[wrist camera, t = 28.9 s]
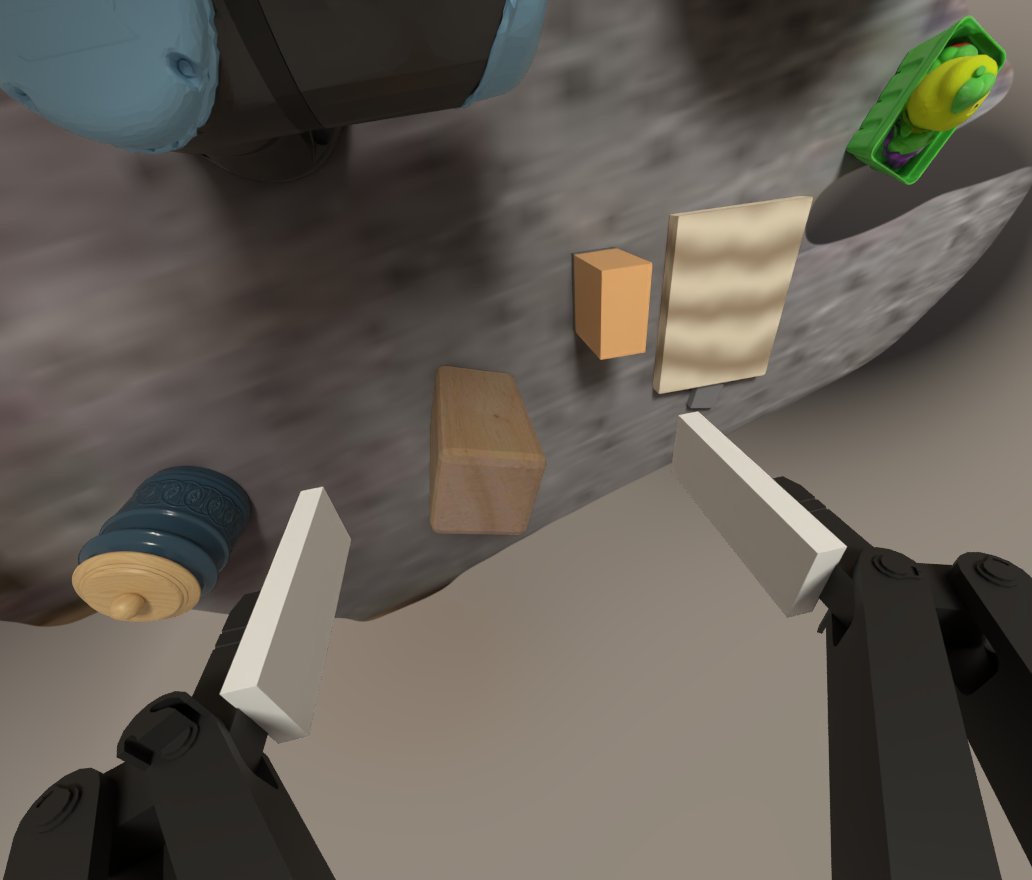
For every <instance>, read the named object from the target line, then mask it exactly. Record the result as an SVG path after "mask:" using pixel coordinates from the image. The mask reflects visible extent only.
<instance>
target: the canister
mask: <svg viewBox="0 0 1032 880" xmlns="http://www.w3.org/2000/svg"><path fill="white" fill-rule="evenodd" d="M250 512H251V504H250V500H249V498H248V496H247V494H246V493H245V491H244V490H243V489H242V488H241V487H240V486H239V485H238V484H237V483H235V482H234V481H233V480H231V479H230V478H228V477H226V476H224V475H222V474H220V473H218V472H215V471H212V470H208V469H205V468H199V467H191V466H181V467H172V468H168V469H165V470H162V471H160V472H158V473H156V474H154V475H153V476H151V477H150V478H148V479H146V480H145V481H144V482H143V483H142V484H141V485H140V486H139V487H138V488H137V489H136V490H135V492H134V493H133V496H132V497H131V498H130V499H129V500H128V501H127V502H126V504H125V505H124V506H123V507H122V508H121V509H120V510H119V511H118V512H117V513H116V514H115V515H114V516H113V517H111V518H110V519H108V520H107V521H106V522H105V523H104V525H103V526H102V528H101V530H100V533H99V535H98V536H96V537H94V538H93V539H91V540H90V541H88V542H87V543H86V544H85V545H84V546H83V548H82V549H81V551H80V553H79V556H78V565H79V566H78V567H77V568H76V570H75V571H74V573H73V576H72V584H73V587H74V589H75V591H76V592H77V594H78V595H79V596H80V597H81V598H82V599H83V600H84V601H85V602H87V604H88V605H90V606H91V607H92V608H93V609H95V610H96V611H98V612H100V613H102V614H104V615H107V616H109V617H112V618H113V619H115V620H119V621H124V620H126V621H135V622H146V621H155V620H161V619H167V618H172V617H176V616H179V615H181V614H183V613H186V612H188V611H189V610H191V609H192V608H193V607H194V606H195V605H196V604H197V603H198V601H199V599H201V598H203V597H205V596H206V595H208V594H209V593H210V592H211V591H212V590H213V589H214V588H215V586H216V584H217V582H218V577H219V572H220V571H222V570H223V569H224V568H225V566H226V565H227V563H228V561H229V558H230V554H231V552H232V550H233V548H234V546H235V544H236V542H237V540H238V538H239V537H240V535H241V534H242V533H243V532H244V530H245V528H246V526H247V524H248V522H249V518H250Z"/></svg>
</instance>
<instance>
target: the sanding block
mask: <svg viewBox="0 0 1032 880" xmlns="http://www.w3.org/2000/svg"><path fill="white" fill-rule="evenodd" d="M651 274H652V263H651V262H648V261H646V260H644V259H641V258H639V257H636V256H634V255H632V254H629V253H627V252H624V251H622V250H619V249H617V248H615V247H610V248H603V249H597V250H590V251H583V252H577V253H572V293H573V330H574V331H575V332H576V333H577V334H578V335H579V337H580V338H581V339H582V340H583V341H584V342H585V343H586V344H587V345H588V347H589V348H590V349H591V350H592V351H593V352H594V353H595V354H596V355H597V357H598V358H599V359H600V360H603V359H609V358H614V357H620V356H626V355H631V354H637V353H643V352H645V348H646V335H647V323H648V311H649V299H650V286H651Z"/></svg>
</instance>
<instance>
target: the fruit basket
mask: <svg viewBox="0 0 1032 880" xmlns="http://www.w3.org/2000/svg"><path fill="white" fill-rule="evenodd" d="M1005 60H1006V52H1005V51H1004V49H1003V48H1001V47H1000V46H999V44H998V43H996V42H995V40H993V38H991V37H990V35H989V34H988V33H987V32H986V31H985V30H984V29H983V28H982V26H981V25H980V24H979V23H978V22H977V21H976V20H975V19H974V18H973V17H972V16H967V17H965V18H963V19H962V20H960V21H958V22H957V23H955V24H954V25H952V26H951V27H950V28H949V29H947V30H946V31H944V32H942V33H940V34H939V35H937V36H935V37H933V38H932V39H930V40H928V41H926V42H924V43H923V44H921V45H919V46H917V47H916V48H914V49H912V50H911V51H909V52H908V54H907V55H906V57H905V59H904V60H903V62H902V63H901V65H900V66H899V68H898V71H897V74H896V75H895V76H894V77H893V78H892V79H891V80H890V82H889V83H888V85H887V86H886V88H885V89H884V91H883V92H882V94H881V95H880V98H879V100H878V103H877V104H876V105H875V106H874V107H873V108H872V109H871V111H870V112H869V114H868V115H867V117H866V118H865V120H864V121H863V123H862V125H861V128H860V130H859V131H858V132H857V133H856V134H855V135H854V137H853V138H852V140H851V141H850V143H849V144H848V146H847V148H846V151H847V152H849V153H852V154H854V156H855V157H856V158H857V159H859V160H860V161H862V162H863V163H865V164H867V165H870V168H872V169H874V170H876V171H879V172H882V173H884V174H887V175H889V176H892V177H895V178H896V179H897V180H899V181H900V182H903V183H905V184H909V185H910V184H912V183H914V182H915V181H917V180H918V178H920V176H921V175H922V174H923V172H924V171H925V169H926V168H927V167H928V165H929V164H930V163H931V161H932V160H933V159H934V157H935V156H936V155H937V153H938V152H939V150H940V149H941V148H942V146H943V145H944V144H945V142H946V141H947V140H948V139H949V137H950V136H951V134H952V133H953V132H954V131H955V129H956V128H957V126H958V125H960V124H961V123H963V122H964V121H966V120H967V119H968V118H969V117H970V116H971V115H973V114H974V112H975V111H976V110H977V109H978V108H979V106H980V105H981V104H982V102H983V101H984V100H985V98H986V97H987V96H988V94H989V92H990V90H991V88H992V87H993V85H994V83H995V80H996V75H997V73H998V72H999V71H1000V69H1001V68H1002V66H1003V65H1004V62H1005Z"/></svg>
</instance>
